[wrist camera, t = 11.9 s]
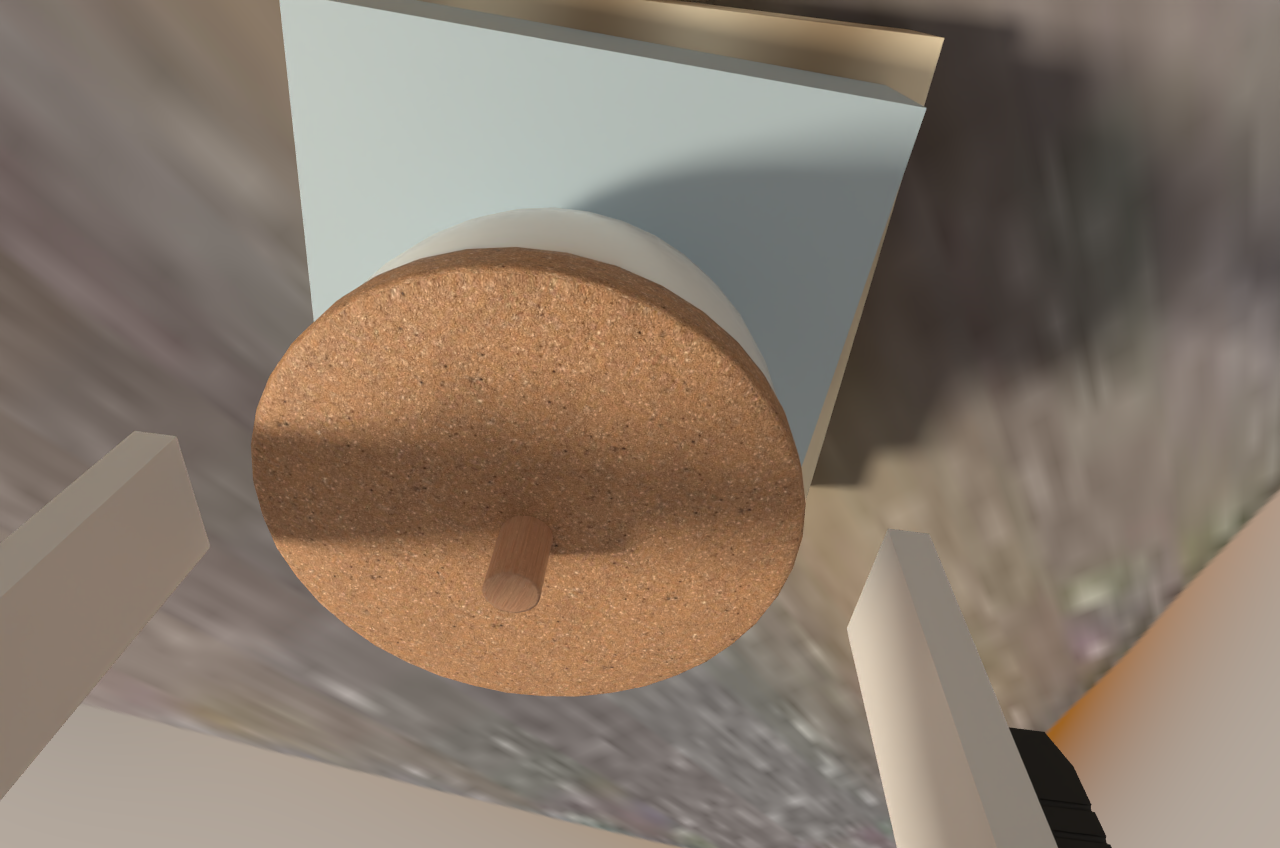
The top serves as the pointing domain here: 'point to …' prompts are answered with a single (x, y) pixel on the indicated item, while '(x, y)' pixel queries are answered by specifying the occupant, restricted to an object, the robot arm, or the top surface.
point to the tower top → (597, 159)
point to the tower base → (650, 12)
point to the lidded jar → (534, 458)
